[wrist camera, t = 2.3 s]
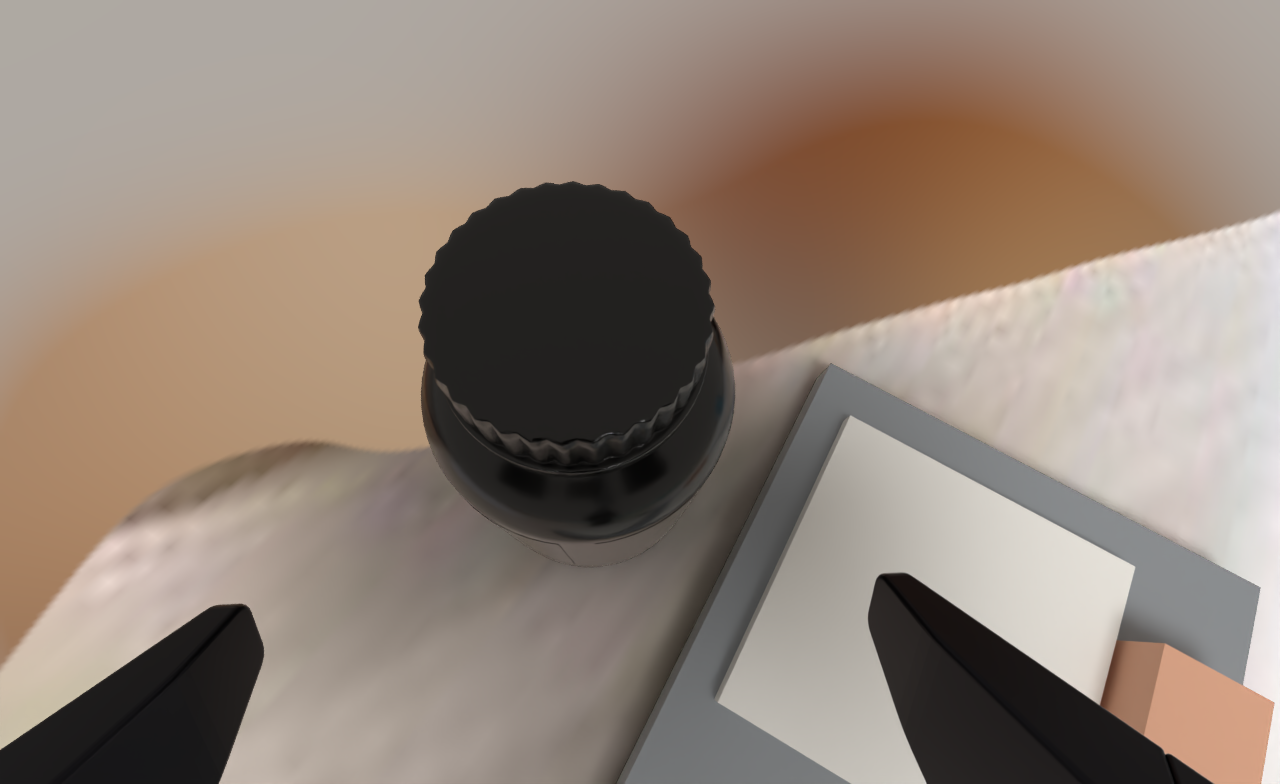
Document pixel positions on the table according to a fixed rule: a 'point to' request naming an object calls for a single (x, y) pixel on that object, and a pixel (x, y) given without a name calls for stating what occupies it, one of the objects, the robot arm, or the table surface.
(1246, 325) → the table surface
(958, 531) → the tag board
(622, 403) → the supplement bottle
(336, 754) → the table surface
